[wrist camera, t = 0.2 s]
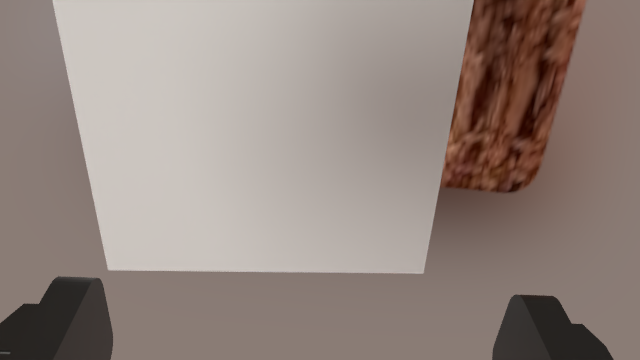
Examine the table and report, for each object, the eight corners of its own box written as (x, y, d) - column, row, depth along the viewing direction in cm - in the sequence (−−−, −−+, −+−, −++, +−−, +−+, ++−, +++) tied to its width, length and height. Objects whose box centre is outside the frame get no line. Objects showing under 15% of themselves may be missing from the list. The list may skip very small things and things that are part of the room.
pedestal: (194, -97, 32) (44, -41, 13) (375, -89, 33) (477, -23, 14) (205, 63, 37) (108, 269, 18) (361, 68, 38) (423, 273, 19)
